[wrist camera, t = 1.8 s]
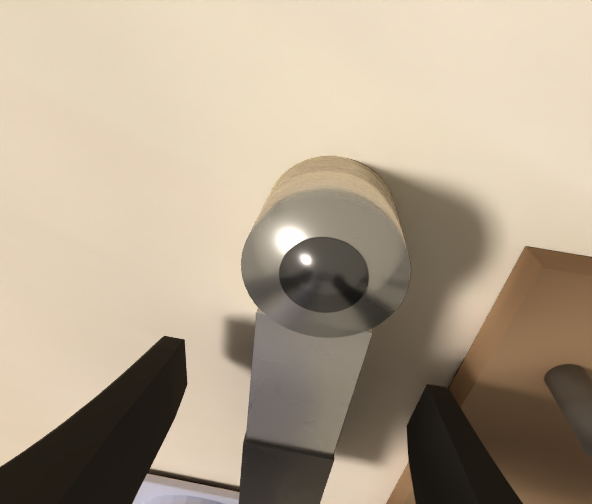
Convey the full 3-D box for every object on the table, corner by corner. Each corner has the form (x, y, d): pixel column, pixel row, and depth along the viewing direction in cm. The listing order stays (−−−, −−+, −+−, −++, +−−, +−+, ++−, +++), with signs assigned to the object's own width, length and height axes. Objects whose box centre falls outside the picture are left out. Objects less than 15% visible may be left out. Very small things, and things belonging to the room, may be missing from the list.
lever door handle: (327, 447, 15) (323, 523, 12) (247, 432, 15) (229, 503, 13) (412, 167, 8) (436, 216, 6) (271, 145, 9) (243, 185, 6)
